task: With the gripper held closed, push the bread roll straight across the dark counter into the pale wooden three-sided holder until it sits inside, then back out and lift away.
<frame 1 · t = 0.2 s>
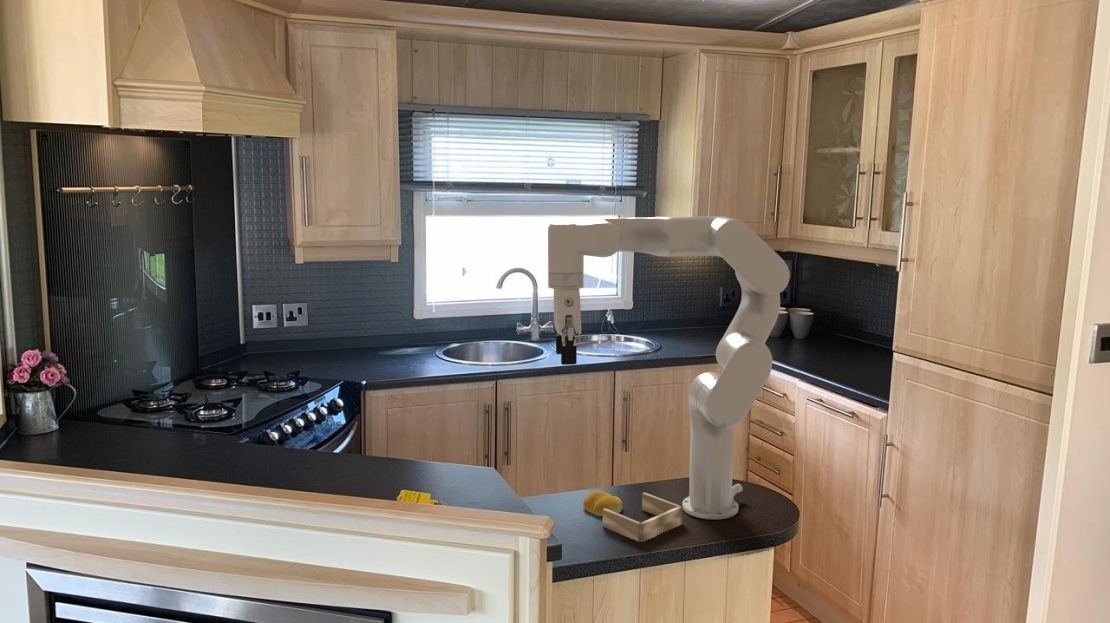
hand: (566, 358, 186), 37 cm above the worktop, tool pointing down, fingers open, 9 cm apart
bread roll: (602, 510, 198), on the worktop
holder: (642, 524, 189), on the worktop
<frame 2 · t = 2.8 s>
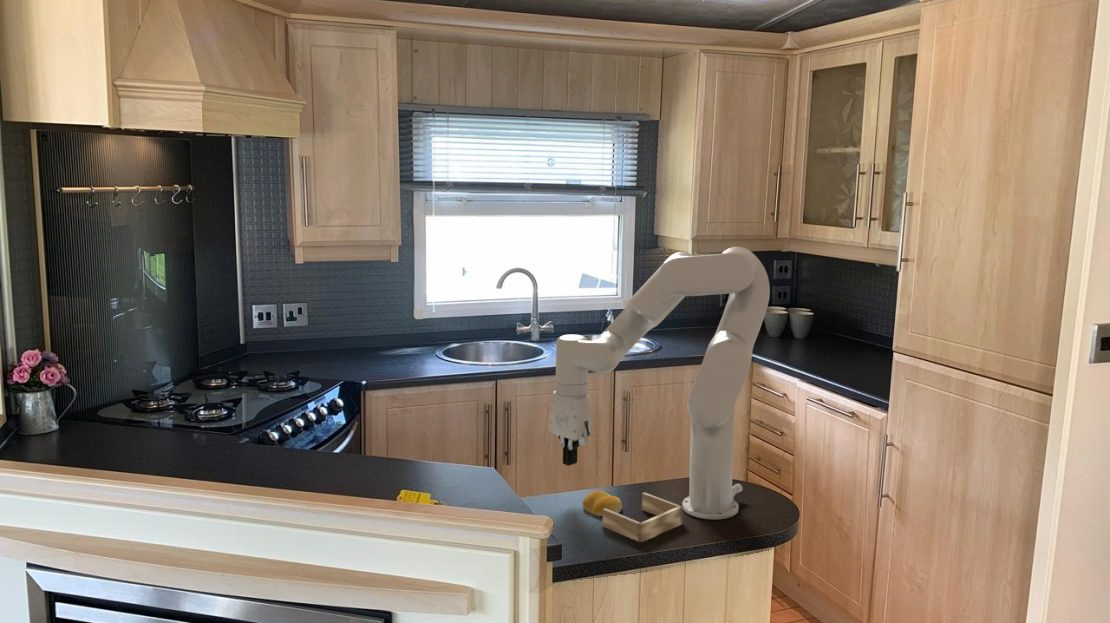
hand: (569, 463, 204), 8 cm above the worktop, tool pointing down, fingers closed
nothing on the worktop moved.
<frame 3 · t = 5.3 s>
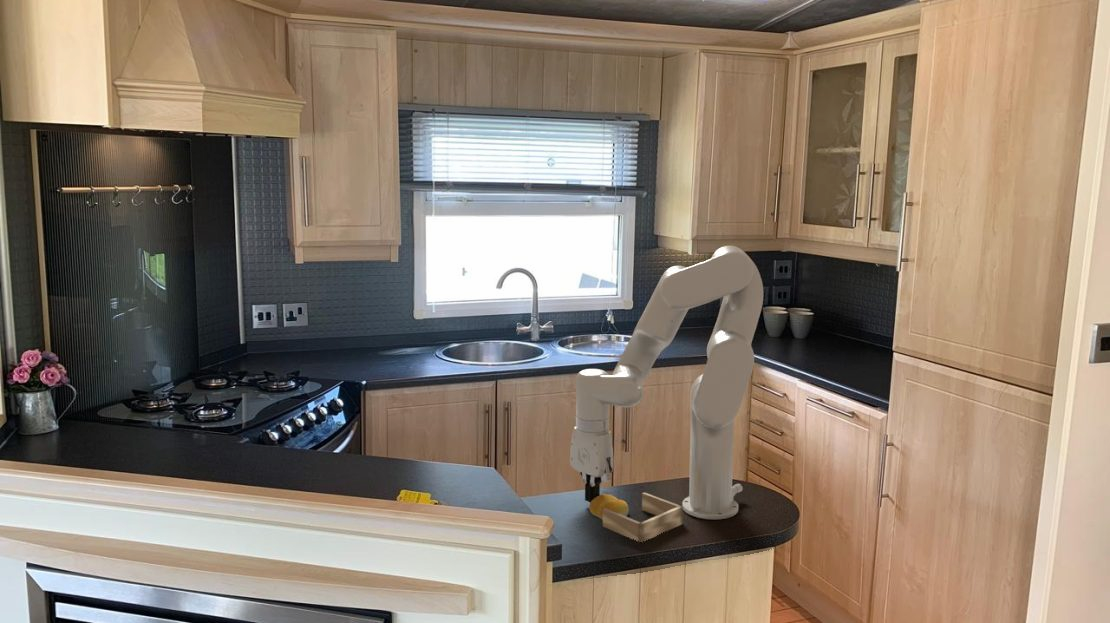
hand: (592, 499, 200), 1 cm above the worktop, tool pointing down, fingers closed
bread roll: (608, 514, 196), on the worktop, touching gripper
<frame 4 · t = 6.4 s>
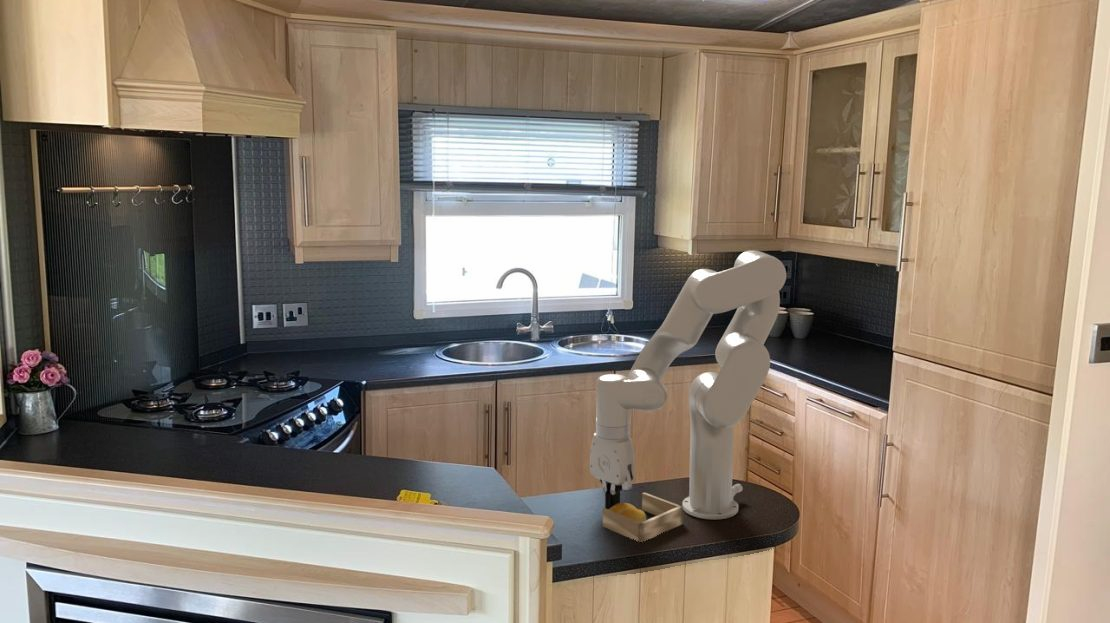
hand: (612, 508, 195), 1 cm above the worktop, tool pointing down, fingers closed
bread roll: (626, 524, 190), on the worktop, touching gripper
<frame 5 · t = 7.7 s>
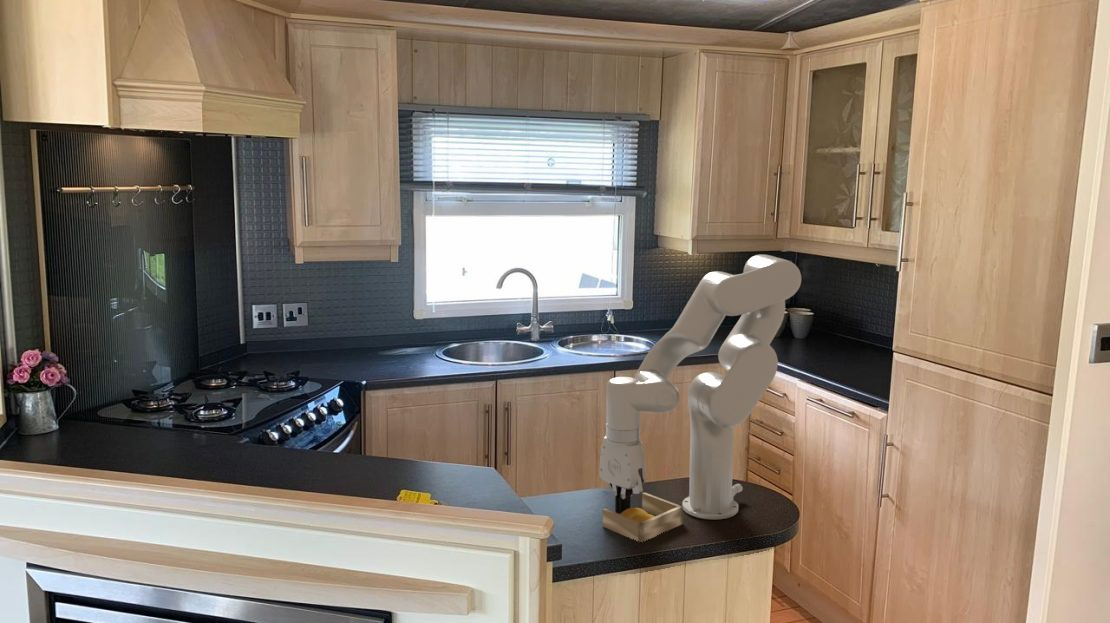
hand: (622, 512, 193), 1 cm above the worktop, tool pointing down, fingers closed
bread roll: (637, 529, 188), on the worktop
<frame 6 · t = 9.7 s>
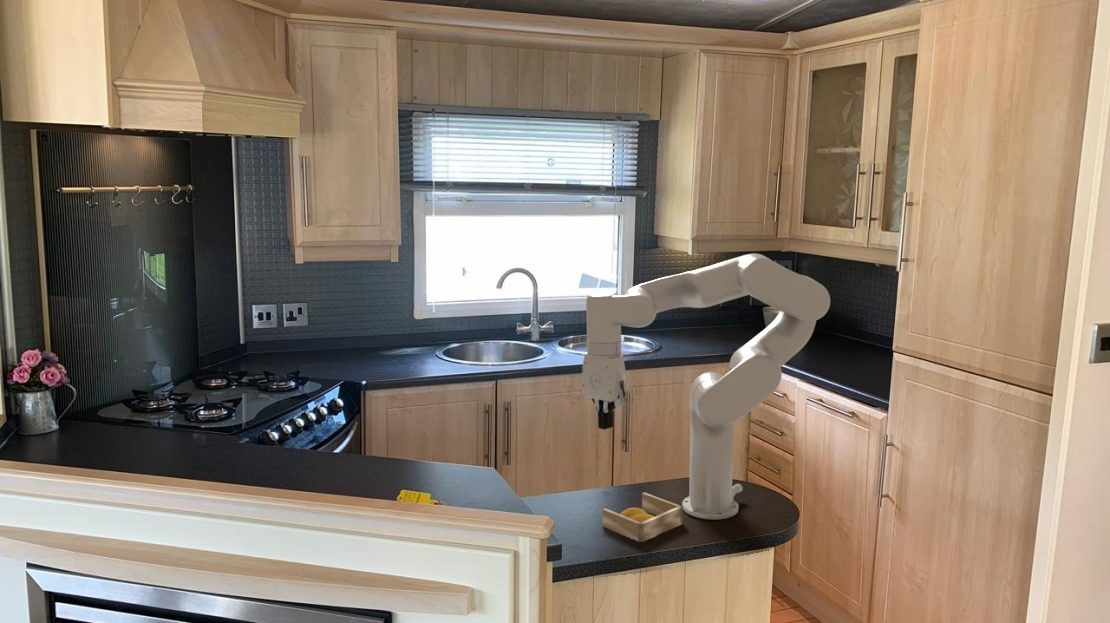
hand: (605, 427, 194), 19 cm above the worktop, tool pointing down, fingers closed
nothing on the worktop moved.
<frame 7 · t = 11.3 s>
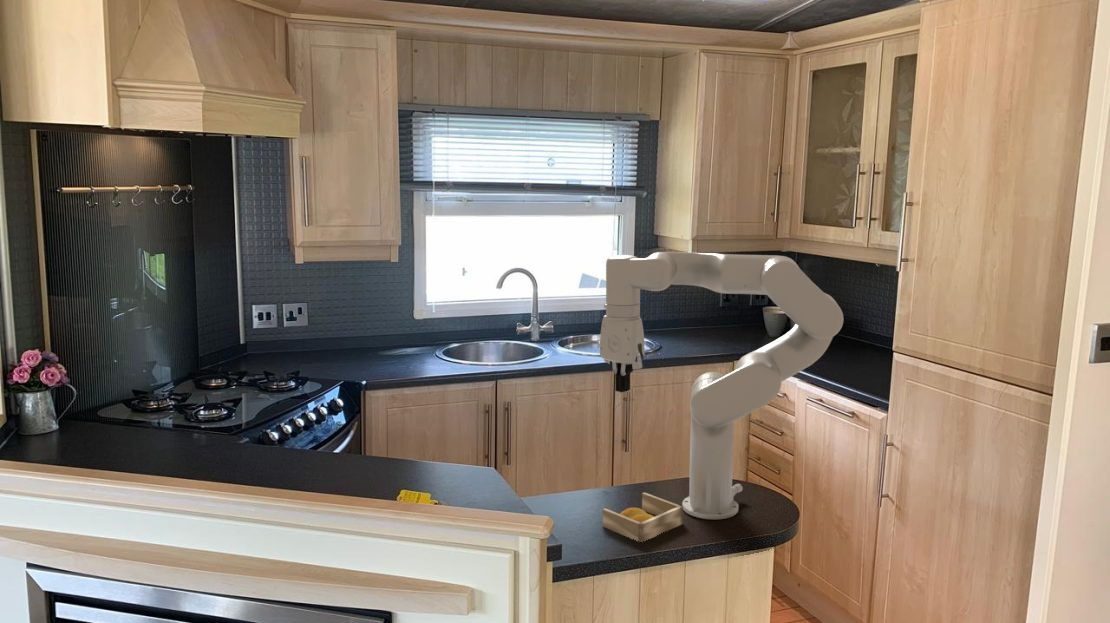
hand: (622, 390, 196), 27 cm above the worktop, tool pointing down, fingers closed
nothing on the worktop moved.
at the end: bread roll 1.7 cm off-centre on the holder, point -0.5 cm above the holder's base; bread roll moved 12.1 cm from its start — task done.
